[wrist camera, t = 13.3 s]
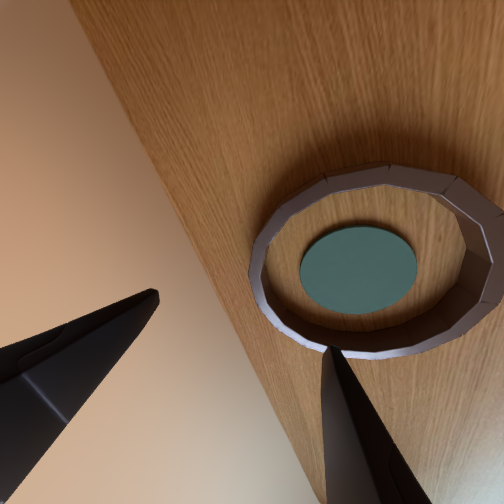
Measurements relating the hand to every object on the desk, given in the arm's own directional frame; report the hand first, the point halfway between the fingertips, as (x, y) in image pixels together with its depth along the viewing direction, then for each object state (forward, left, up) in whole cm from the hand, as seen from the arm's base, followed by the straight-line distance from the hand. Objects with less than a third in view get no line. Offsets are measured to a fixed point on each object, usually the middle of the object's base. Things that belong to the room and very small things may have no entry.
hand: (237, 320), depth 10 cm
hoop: (+7, 0, -8) cm, 10 cm away
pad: (+7, 0, -8) cm, 10 cm away
